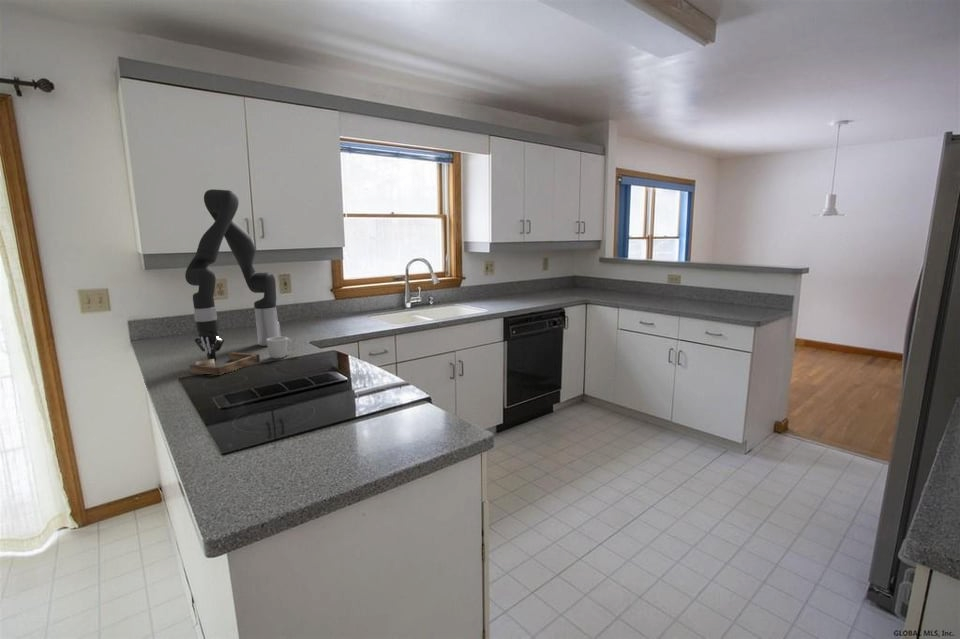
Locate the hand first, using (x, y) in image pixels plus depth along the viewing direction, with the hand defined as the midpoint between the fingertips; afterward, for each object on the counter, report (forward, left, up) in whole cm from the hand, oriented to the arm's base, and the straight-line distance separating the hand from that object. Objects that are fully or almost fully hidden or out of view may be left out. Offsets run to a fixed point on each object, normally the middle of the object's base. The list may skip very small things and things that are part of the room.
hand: (212, 361), depth 191 cm
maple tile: (+5, +2, -2) cm, 5 cm away
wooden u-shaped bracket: (+1, +8, -2) cm, 8 cm away
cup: (-18, +18, -2) cm, 25 cm away
